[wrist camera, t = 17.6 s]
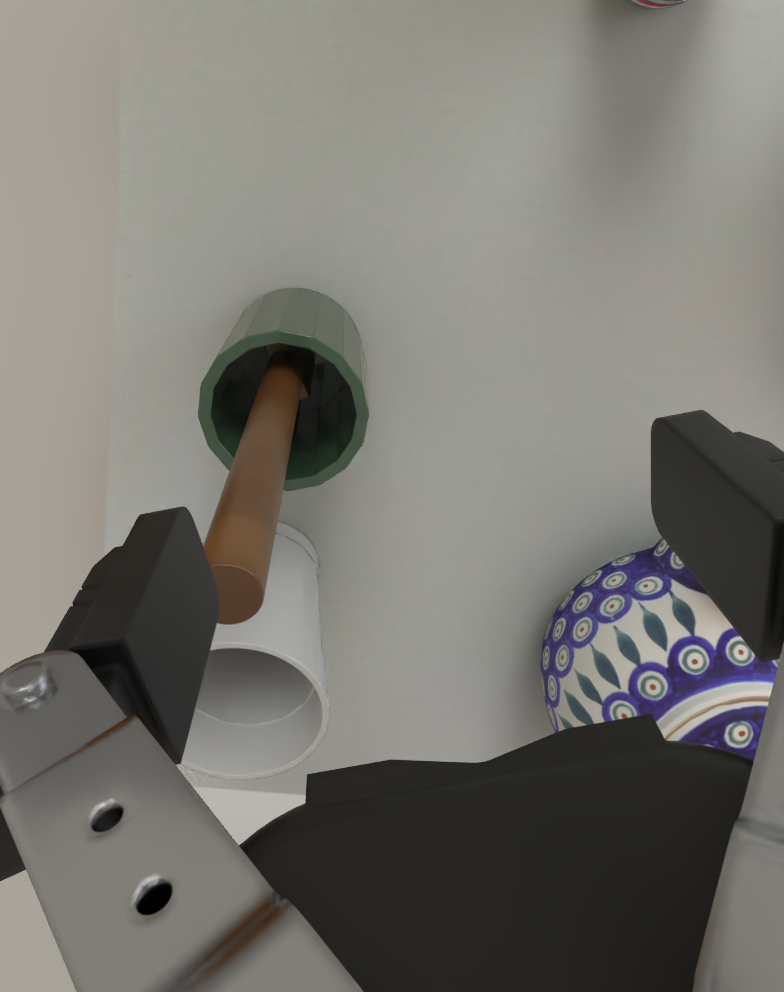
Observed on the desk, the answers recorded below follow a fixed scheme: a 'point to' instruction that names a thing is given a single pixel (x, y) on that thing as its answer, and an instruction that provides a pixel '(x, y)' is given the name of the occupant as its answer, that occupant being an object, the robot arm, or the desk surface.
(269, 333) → the crock
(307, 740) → the cup
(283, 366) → the wooden paddle stick
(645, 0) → the pill bottle
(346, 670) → the desk surface
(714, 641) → the teapot
